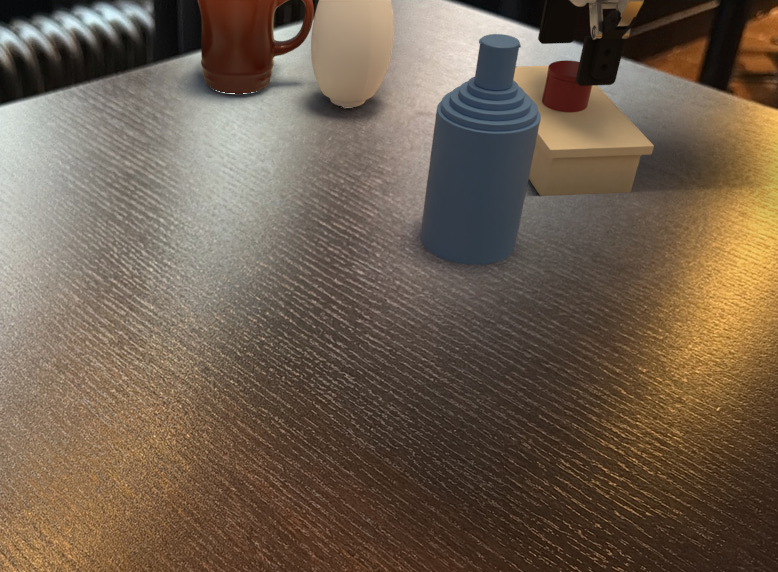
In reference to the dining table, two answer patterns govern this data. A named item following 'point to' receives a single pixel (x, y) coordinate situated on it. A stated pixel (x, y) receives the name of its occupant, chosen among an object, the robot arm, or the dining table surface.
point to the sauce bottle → (351, 48)
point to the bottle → (480, 161)
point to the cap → (565, 88)
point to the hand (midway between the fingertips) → (574, 62)
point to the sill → (582, 143)
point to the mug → (243, 42)
